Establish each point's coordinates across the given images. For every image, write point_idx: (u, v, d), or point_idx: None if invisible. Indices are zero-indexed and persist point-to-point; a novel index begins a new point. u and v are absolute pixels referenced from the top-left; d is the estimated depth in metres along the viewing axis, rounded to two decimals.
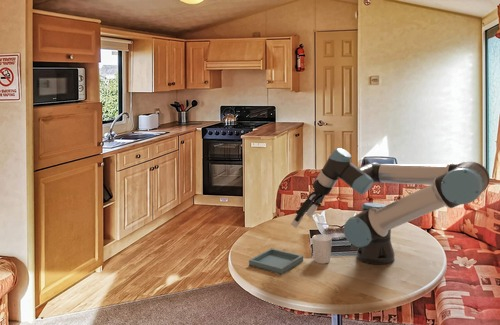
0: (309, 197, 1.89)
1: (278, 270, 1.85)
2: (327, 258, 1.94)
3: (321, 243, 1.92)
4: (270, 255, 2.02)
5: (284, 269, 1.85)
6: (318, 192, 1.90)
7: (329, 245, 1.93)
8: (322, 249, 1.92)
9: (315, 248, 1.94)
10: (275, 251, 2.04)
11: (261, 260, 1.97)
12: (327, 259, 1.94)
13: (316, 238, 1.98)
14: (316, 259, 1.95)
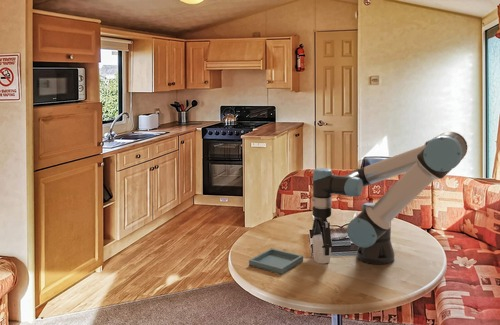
0: (325, 226, 1.87)
1: (278, 270, 1.85)
2: None
3: (321, 243, 1.92)
4: (270, 255, 2.02)
5: (284, 269, 1.85)
6: (326, 217, 1.90)
7: None
8: (322, 249, 1.92)
9: (315, 248, 1.94)
10: (275, 251, 2.04)
11: (261, 260, 1.97)
12: None
13: (316, 238, 1.98)
14: (316, 259, 1.95)
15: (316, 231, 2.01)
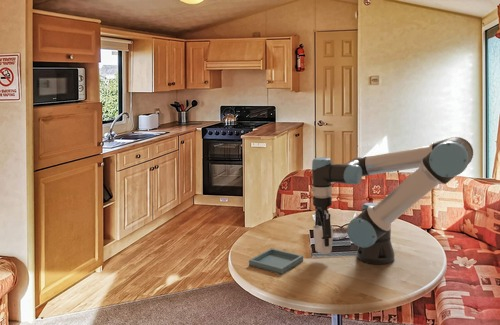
0: (325, 217, 1.87)
1: (278, 270, 1.85)
2: None
3: (322, 232, 1.91)
4: (270, 255, 2.02)
5: (284, 269, 1.85)
6: (326, 206, 1.89)
7: None
8: None
9: (316, 238, 1.93)
10: (275, 251, 2.04)
11: (261, 260, 1.97)
12: None
13: (317, 228, 1.97)
14: (317, 249, 1.94)
15: None
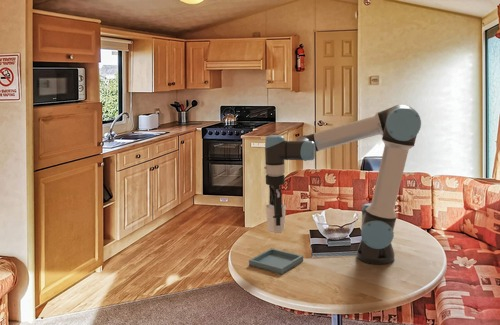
0: (277, 196, 1.83)
1: (278, 270, 1.85)
2: None
3: None
4: (270, 255, 2.02)
5: (284, 269, 1.85)
6: (278, 184, 1.86)
7: (282, 213, 1.89)
8: None
9: (268, 217, 1.89)
10: (275, 251, 2.04)
11: (261, 260, 1.97)
12: None
13: (270, 207, 1.94)
14: (269, 228, 1.90)
15: None
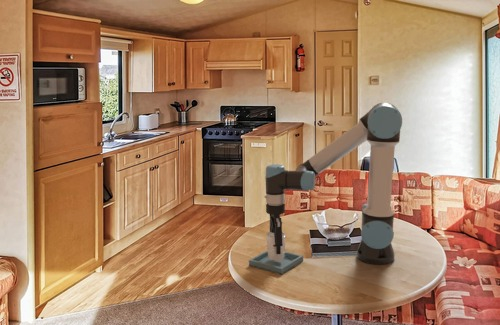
0: (277, 225, 1.85)
1: (278, 270, 1.85)
2: (281, 255, 1.92)
3: (274, 240, 1.89)
4: None
5: (284, 269, 1.85)
6: (279, 214, 1.88)
7: (282, 242, 1.91)
8: None
9: (268, 245, 1.91)
10: None
11: (261, 260, 1.97)
12: (281, 256, 1.92)
13: (271, 235, 1.96)
14: (270, 256, 1.92)
15: None
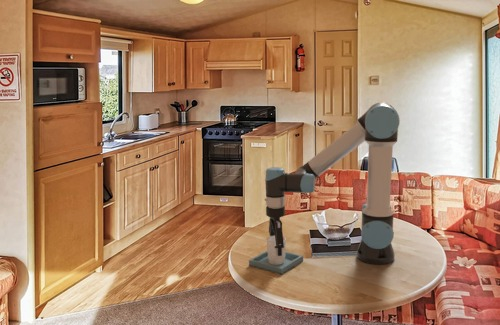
0: (277, 226, 1.85)
1: (278, 270, 1.85)
2: None
3: (274, 244, 1.90)
4: None
5: (284, 269, 1.85)
6: (279, 216, 1.88)
7: None
8: None
9: (269, 249, 1.92)
10: None
11: (261, 260, 1.97)
12: None
13: (271, 239, 1.97)
14: (270, 260, 1.93)
15: (272, 232, 1.98)
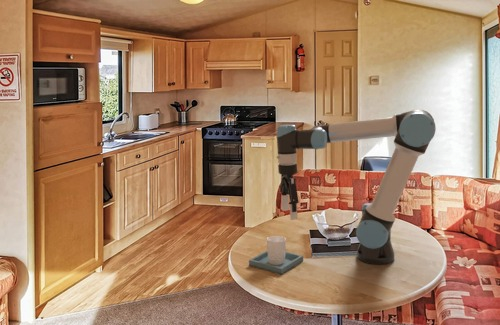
0: (291, 181, 1.84)
1: (278, 270, 1.85)
2: (281, 259, 1.92)
3: (274, 244, 1.90)
4: None
5: (284, 269, 1.85)
6: (292, 173, 1.87)
7: (283, 246, 1.91)
8: (276, 250, 1.90)
9: (269, 249, 1.92)
10: None
11: (261, 260, 1.97)
12: (281, 260, 1.92)
13: (271, 239, 1.97)
14: (270, 260, 1.93)
15: (284, 191, 1.98)
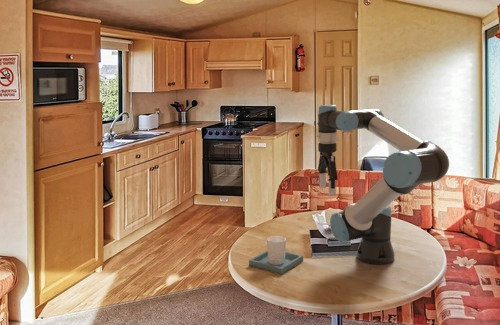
0: (330, 159, 1.92)
1: (278, 270, 1.85)
2: (281, 259, 1.92)
3: (274, 244, 1.90)
4: None
5: (284, 269, 1.85)
6: (331, 151, 1.95)
7: (283, 246, 1.91)
8: (276, 250, 1.90)
9: (269, 249, 1.92)
10: None
11: (261, 260, 1.97)
12: (281, 260, 1.92)
13: (271, 239, 1.97)
14: (270, 260, 1.93)
15: (322, 169, 2.06)
